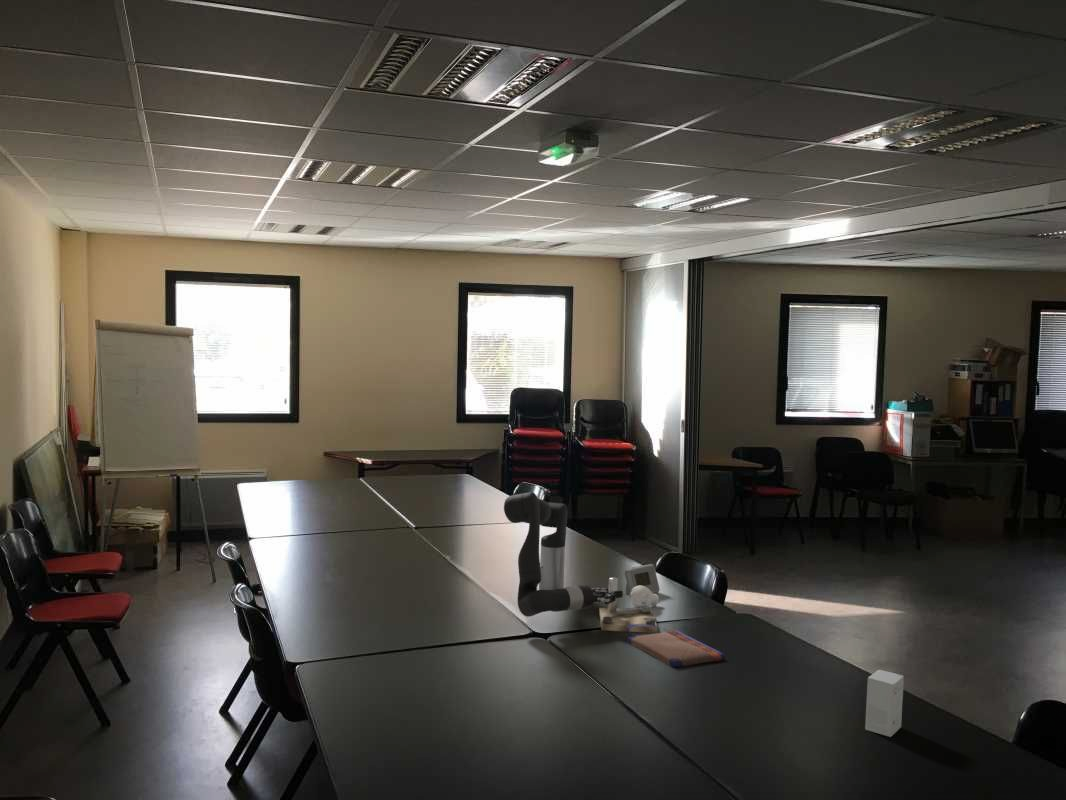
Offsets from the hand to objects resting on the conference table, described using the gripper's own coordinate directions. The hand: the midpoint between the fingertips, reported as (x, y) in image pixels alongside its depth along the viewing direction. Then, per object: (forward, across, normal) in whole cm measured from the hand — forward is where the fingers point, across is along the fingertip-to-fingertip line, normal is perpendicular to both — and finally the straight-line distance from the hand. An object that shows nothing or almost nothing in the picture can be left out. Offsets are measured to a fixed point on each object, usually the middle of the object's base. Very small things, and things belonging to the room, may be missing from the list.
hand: (618, 592), depth 287 cm
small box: (+9, -96, +11) cm, 97 cm away
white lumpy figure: (+19, +9, +10) cm, 24 cm away
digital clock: (+28, +23, +10) cm, 38 cm away
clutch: (-1, -29, +11) cm, 31 cm away
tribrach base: (+2, -2, +10) cm, 11 cm away
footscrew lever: (+5, 0, +7) cm, 9 cm away
